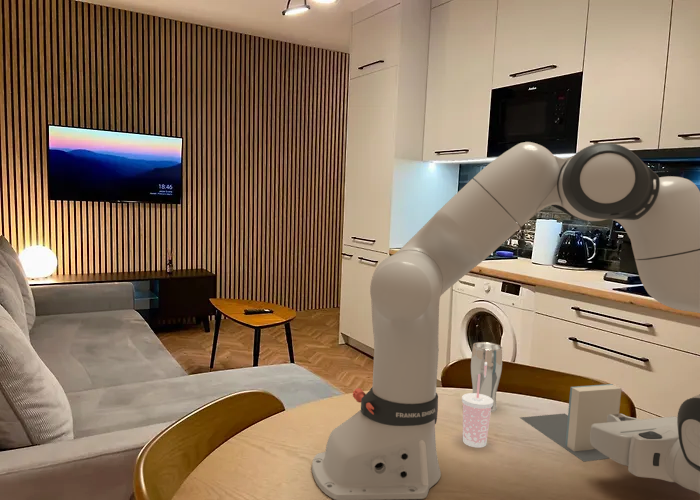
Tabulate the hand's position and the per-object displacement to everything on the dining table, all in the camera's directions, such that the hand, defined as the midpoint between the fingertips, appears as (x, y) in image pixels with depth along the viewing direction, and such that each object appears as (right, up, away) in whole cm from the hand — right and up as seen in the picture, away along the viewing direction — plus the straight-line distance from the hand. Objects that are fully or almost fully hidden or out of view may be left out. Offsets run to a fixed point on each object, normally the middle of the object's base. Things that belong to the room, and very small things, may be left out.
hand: (613, 417), depth 97 cm
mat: (-3, -7, +10) cm, 13 cm away
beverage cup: (-25, -7, +6) cm, 26 cm away
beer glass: (-19, -6, +23) cm, 30 cm away
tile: (-2, -7, +6) cm, 9 cm away
